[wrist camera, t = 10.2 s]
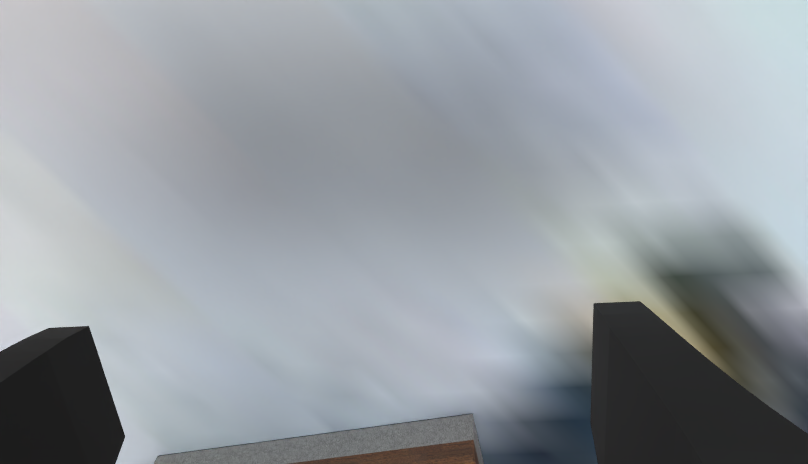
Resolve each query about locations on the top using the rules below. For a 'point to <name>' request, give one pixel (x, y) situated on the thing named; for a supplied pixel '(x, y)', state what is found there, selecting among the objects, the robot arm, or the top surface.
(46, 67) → the top surface
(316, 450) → the display case
